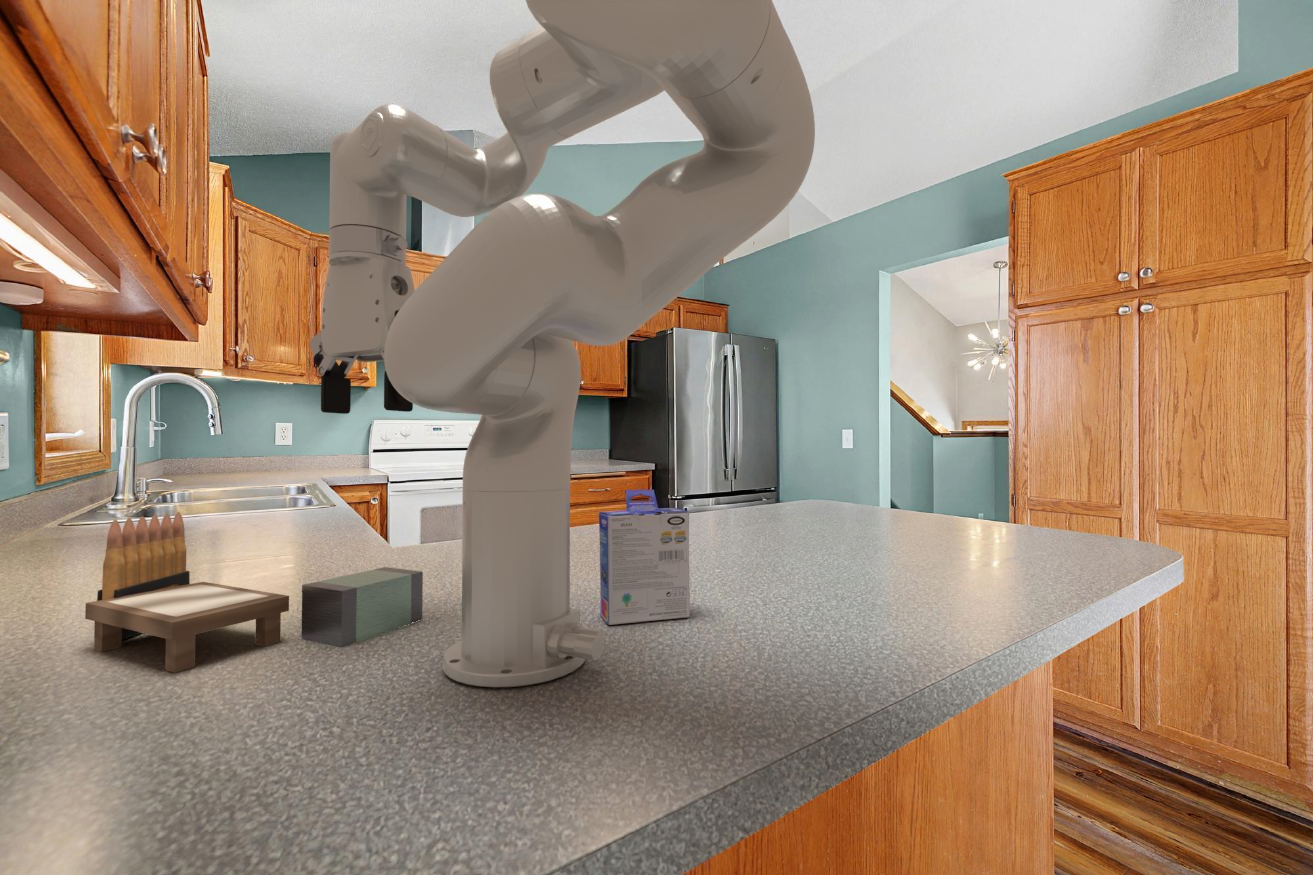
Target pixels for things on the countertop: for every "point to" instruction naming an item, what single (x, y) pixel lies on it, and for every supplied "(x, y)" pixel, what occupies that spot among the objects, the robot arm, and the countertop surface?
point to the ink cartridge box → (644, 562)
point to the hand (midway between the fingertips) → (366, 411)
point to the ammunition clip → (144, 559)
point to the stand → (186, 617)
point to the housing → (360, 605)
